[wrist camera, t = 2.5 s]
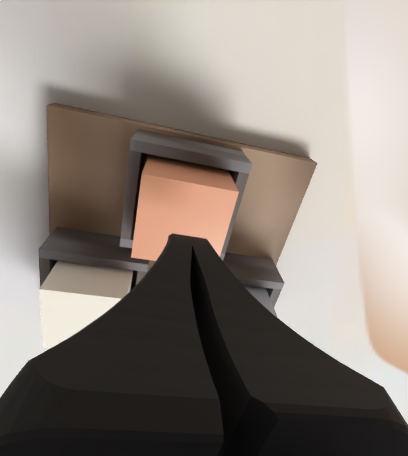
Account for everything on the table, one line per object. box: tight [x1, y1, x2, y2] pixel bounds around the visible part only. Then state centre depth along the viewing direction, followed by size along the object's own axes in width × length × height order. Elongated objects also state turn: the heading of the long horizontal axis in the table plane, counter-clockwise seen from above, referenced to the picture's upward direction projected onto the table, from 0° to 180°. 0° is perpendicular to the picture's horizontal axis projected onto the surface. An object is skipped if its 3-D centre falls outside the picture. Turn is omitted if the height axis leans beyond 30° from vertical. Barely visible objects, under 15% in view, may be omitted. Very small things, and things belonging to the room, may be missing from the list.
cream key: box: [39, 260, 133, 348], centre depth 16 cm, size 4×4×3 cm
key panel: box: [39, 103, 317, 308], centre depth 17 cm, size 14×13×4 cm
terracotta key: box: [131, 155, 239, 261], centre depth 14 cm, size 4×4×3 cm
